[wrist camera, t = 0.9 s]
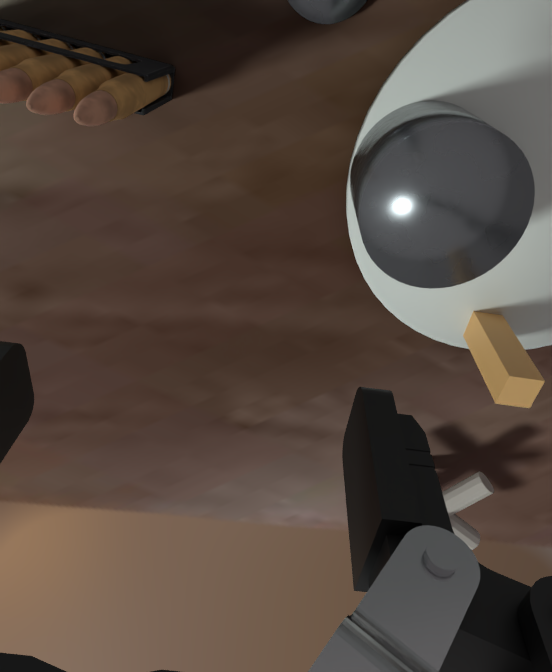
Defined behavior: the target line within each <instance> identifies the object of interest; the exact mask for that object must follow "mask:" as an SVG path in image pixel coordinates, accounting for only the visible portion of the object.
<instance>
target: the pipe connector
mask: <svg viewBox="0 0 552 672" xmlns="http://www.w3.org/2000/svg"><path fill="white" fill-rule="evenodd" d="M493 492H494V490H493V487H492V485H491V483H490V481H489V480H488V478H487V477H486V476H485V475H484V474H483V473H482V472H480V471H479V472H477V473H475V474H474V475H472V476H470V477H468V478H466V479H465V480H463V481H461V482H459V483H457V484H456V485H454V486H452V487H450V488H448V489H447V490H445V491H443V492H442V494H443V497H444V501H445V504H446V508H447V511H448V515H449V518H450V522H451V525H452V529H453V531H454V534H455V535H456V536H458V537H459V538H460V539H461V540H463V541H464V542H465V543H466V544H467V545H468V547H469V548H470V549H471V550H472V549H474V548H476V547H477V546H478V544H479V542H480V534H479V533H478V531H477V530H476V529H474V528H473V527H472V526H470V525H469V524H468V523H466V522H465V521H464V520H462V519H461V518H460V517H458V516H457V515H456V514H455V513H457V512H458V511H460V510H462V509H464V508H466V507H468V506H470V505H472V504H474V503H475V502H477V501H479V500H481V499H483V498H485V497H487V496H489V495H491V494H493Z"/></svg>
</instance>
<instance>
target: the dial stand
mask: <svg viewBox="0 0 552 672" xmlns="http://www.w3.org/2000/svg"><path fill="white" fill-rule="evenodd" d="M366 1H367V0H288V2H289V3H290V5H291V6H292V7H293V9H294V10H295V11H296V12H297V13H298V14H300V15H301V16H302V17H304V18H306V19H307V20H309V21H312V22H315V23H320V24H333V23H337V22H341V21H343V20H345V19H347V18H349V17H351V16H352V15H354V14H355V13H356V12H357V11H359V9H360V8H361V7H362V6H363V5H364V4H365V3H366Z"/></svg>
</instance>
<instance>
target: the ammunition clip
mask: <svg viewBox="0 0 552 672" xmlns="http://www.w3.org/2000/svg"><path fill="white" fill-rule="evenodd" d="M174 74H175V67H174V66H173V65H170V64H167V63H163V62H159V61H155V60H152V59H148V58H144V57H141V56H137V55H133V54H129V53H126V52H122V51H118V50H114V49H111V48H107V47H103V46H99V45H96V44H92V43H88V42H84V41H81V40H77V39H73V38H70V37H66V36H62V35H58V34H55V33H51V32H47V31H43V30H40V29H36V28H32V27H28V26H25V25H21V24H17V23H13V22H10V21H6V20H2V19H0V103H3V104H4V103H14V102H19V101H24V100H27V103H26V106H27V108H28V109H29V110H30V111H32V112H34V113H37V114H42V115H52V114H59V113H62V112H65V111H70V110H75V111H74V119H75V121H76V122H77V123H79V124H81V125H84V126H97V125H102V124H105V123H107V122H110V121H113V120H119V119H124V118H126V117H128V116H129V115H131V114H133V113H136V114H140V115H145V114H147V113H149V112H151V111H152V110H154V109H156V108H158V107H160V106H161V105H163V104H165V103H167V102H169V101H170V100H172V93H173V83H174Z"/></svg>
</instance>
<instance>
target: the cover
mask: <svg viewBox="0 0 552 672" xmlns="http://www.w3.org/2000/svg"><path fill="white" fill-rule="evenodd" d="M350 191H351V197H352V201H353V205H354V209H355V213H356V217H357V221H358V225H359V229H360V233H361V237H362V241H363V244H364V246H365V249H366V251H367V253H368V254H369V256H370V258H371V259H372V261H373V262H374V263H375V264H376V265H377V267H379V268H380V269H381V270H382V271H383V272H384V273H385V274H387V275H388V276H390V277H391V278H393V279H395V280H397V281H399V282H401V283H404V284H407V285H410V286H414V287H419V288H429V289H432V288H446V287H452V286H456V285H460V284H463V283H466V282H468V281H471V280H473V279H475V278H477V277H479V276H481V275H483V274H485V273H486V272H488V271H489V270H491V269H492V268H494V267H495V266H496V265H497V264H499V263H500V262H501V261H502V260H503V259H504V258H505V257H506V256H507V255H508V254H509V253H510V252H511V251H512V250H513V248H514V247H515V246H516V245H517V243H518V242H519V240H520V239H521V237H522V235H523V234H524V232H525V230H526V228H527V226H528V223H529V220H530V217H531V215H532V210H533V206H534V197H535V186H534V178H533V174H532V170H531V167H530V165H529V162H528V160H527V158H526V157H525V155H524V153H523V152H522V150H521V149H520V148H519V147H518V146H517V144H516V143H515V142H513V141H512V140H511V139H510V138H509V137H508V136H506V135H505V134H503V133H501V132H500V131H498V130H497V129H495V128H494V127H492V126H490V125H489V124H487V123H486V122H484V121H483V120H481V119H480V118H478V117H476V116H475V115H473V114H472V113H470V112H469V111H467V110H465V109H464V108H462V107H460V106H457V105H455V104H452V103H448V102H444V101H435V100H430V101H420V102H415V103H411V104H408V105H405V106H402V107H400V108H398V109H396V110H394V111H392V112H391V113H389V114H388V115H386V116H384V117H383V118H382V119H381V120H380V121H378V122H377V123H376V124H375V125H374V126H373V127H372V128H371V129H370V130H369V132H368V133H367V134H366V136H365V137H364V138H363V140H362V142H361V143H360V145H359V147H358V149H357V151H356V154H355V156H354V159H353V163H352V166H351V172H350Z"/></svg>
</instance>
